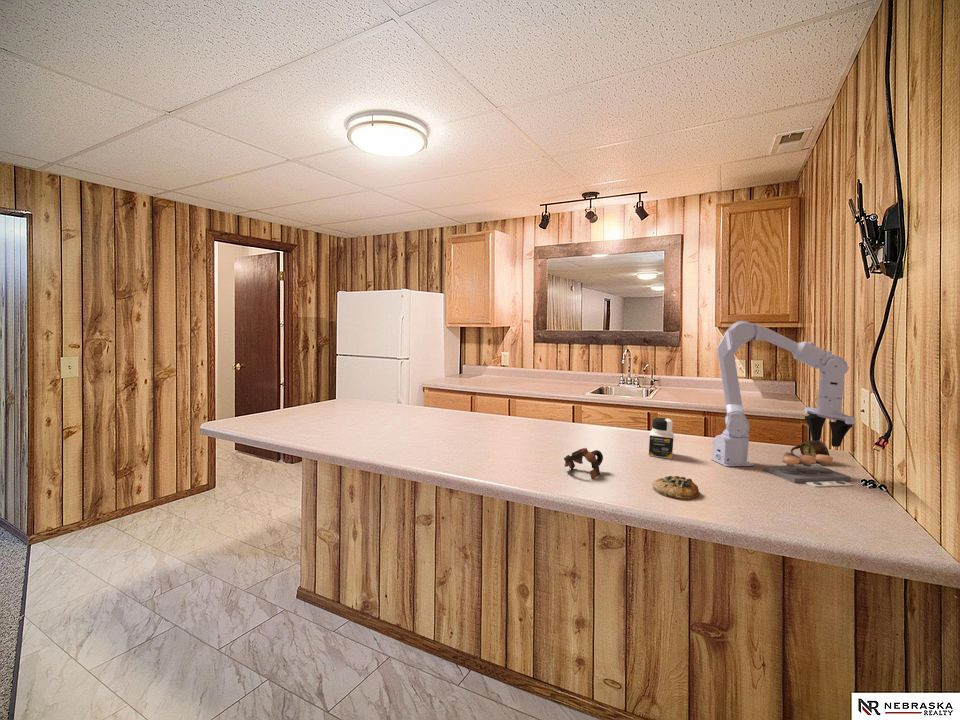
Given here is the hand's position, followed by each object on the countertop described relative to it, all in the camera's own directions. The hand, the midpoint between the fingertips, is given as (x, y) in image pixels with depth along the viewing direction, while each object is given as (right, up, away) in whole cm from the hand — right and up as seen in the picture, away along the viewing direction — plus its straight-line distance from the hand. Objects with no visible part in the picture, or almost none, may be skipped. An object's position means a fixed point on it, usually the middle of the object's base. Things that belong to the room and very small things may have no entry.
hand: (825, 443), depth 138 cm
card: (-4, -10, -7) cm, 13 cm away
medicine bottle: (-41, -7, +17) cm, 45 cm away
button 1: (-11, -6, -1) cm, 13 cm away
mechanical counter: (+4, -9, +15) cm, 18 cm away
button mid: (-6, -6, 0) cm, 9 cm away
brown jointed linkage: (-71, -8, -3) cm, 71 cm away
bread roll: (-50, -10, -16) cm, 54 cm away
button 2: (0, -7, +1) cm, 6 cm away
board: (-6, -9, 0) cm, 11 cm away
